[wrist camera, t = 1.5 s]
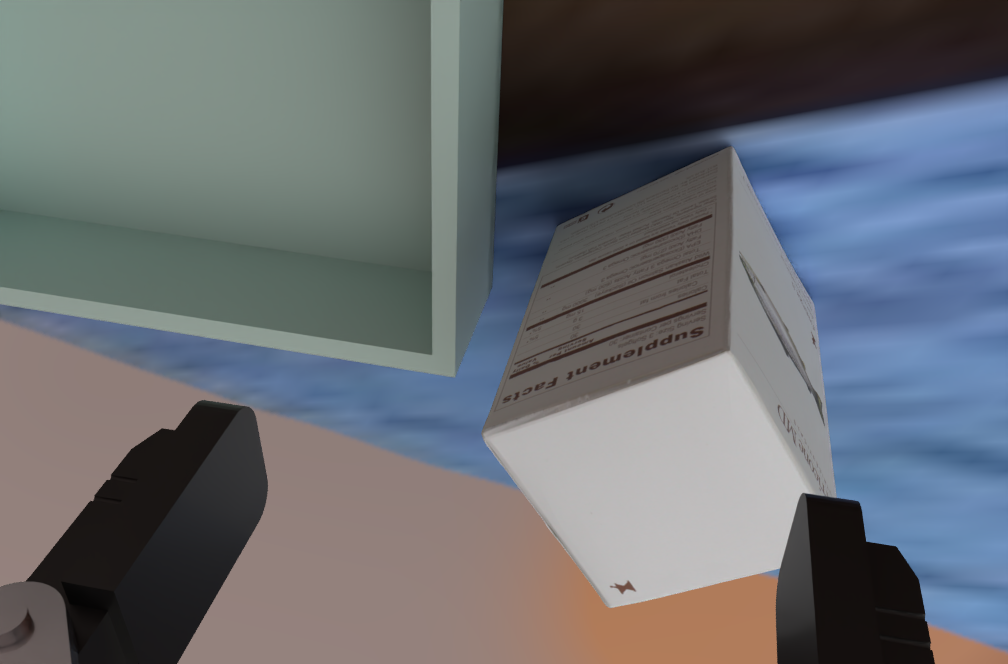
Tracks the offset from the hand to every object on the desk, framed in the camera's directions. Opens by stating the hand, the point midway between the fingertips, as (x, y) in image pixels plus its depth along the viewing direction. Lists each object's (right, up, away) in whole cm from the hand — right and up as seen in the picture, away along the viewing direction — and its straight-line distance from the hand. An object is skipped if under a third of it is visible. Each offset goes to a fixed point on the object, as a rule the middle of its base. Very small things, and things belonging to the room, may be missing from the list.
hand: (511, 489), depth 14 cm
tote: (-11, +12, +21) cm, 26 cm away
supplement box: (+7, +5, +21) cm, 23 cm away
